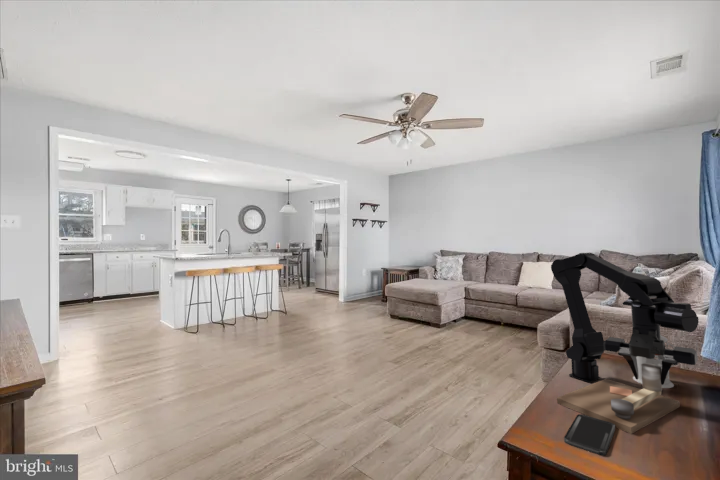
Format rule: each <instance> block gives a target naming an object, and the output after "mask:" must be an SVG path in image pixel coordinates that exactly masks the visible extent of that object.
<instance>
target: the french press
mask: <svg viewBox="0 0 720 480" xmlns="http://www.w3.org/2000/svg"><path fill="white" fill-rule="evenodd" d="M660 336H661V340H663V341H664V344H665V349H669V348H668V347H669V346H671V348H672V350H674V348H675V347H676V346H675V345H673V344H672V343H669V342H668V341H669V339H668V338H667V337H666V336H664V335H661V334H660ZM636 359H637V366H638V379H636V378H635V376H634V375H633V376H632V379H633V381H635V382H637V383H638V384H641V385H642V364H644V363H648V364H654V365H658V366H660V367H661V372H662V360H663V359H664V357H663V355H657V354H655V357H654V358H653V359H647V358H645V357H640V356H637V357H636ZM675 366H676V365H672V366H671V367H670V368H672V367H675ZM674 386H675V384H674V383H673V382H672V381H671V380H670V371H669V372H668V374H667V377H666V380H665V382H664V385H662V389H670V388H674Z"/></svg>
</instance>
